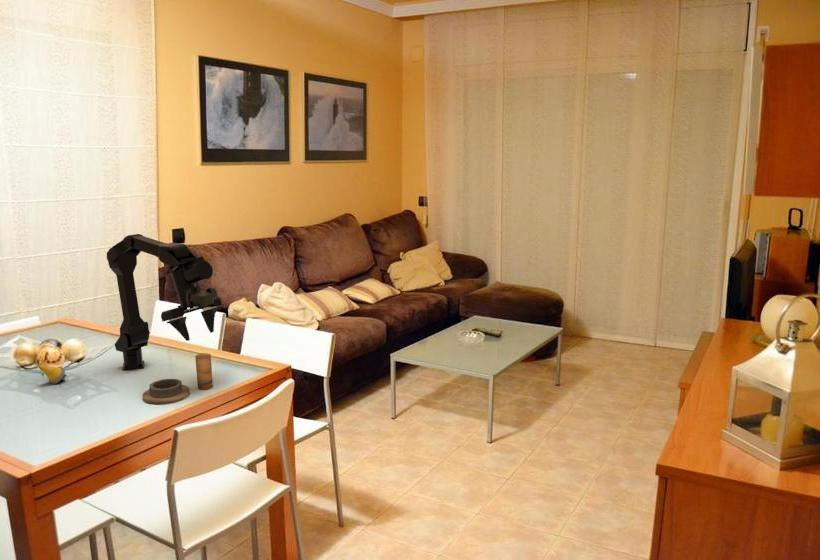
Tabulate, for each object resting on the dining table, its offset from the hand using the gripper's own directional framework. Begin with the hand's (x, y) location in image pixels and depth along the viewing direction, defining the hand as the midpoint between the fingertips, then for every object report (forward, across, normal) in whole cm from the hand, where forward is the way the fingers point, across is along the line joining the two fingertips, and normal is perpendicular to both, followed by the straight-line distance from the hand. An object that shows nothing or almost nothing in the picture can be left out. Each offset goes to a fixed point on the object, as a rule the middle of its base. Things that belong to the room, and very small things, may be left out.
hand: (200, 336), depth 202 cm
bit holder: (+14, -12, +8) cm, 19 cm away
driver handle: (+15, -1, +3) cm, 15 cm away
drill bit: (+2, -22, +43) cm, 48 cm away
